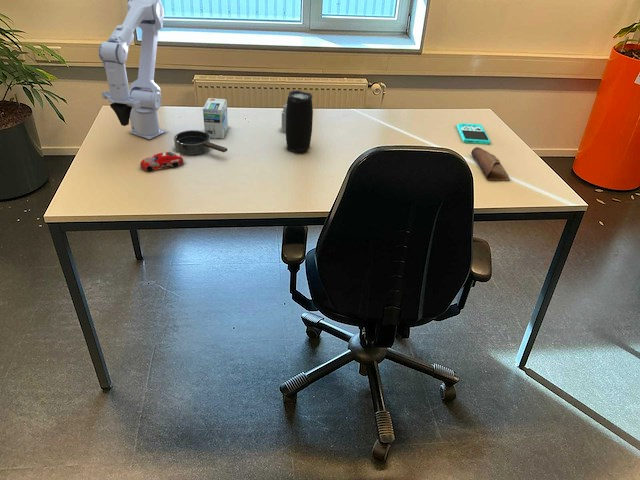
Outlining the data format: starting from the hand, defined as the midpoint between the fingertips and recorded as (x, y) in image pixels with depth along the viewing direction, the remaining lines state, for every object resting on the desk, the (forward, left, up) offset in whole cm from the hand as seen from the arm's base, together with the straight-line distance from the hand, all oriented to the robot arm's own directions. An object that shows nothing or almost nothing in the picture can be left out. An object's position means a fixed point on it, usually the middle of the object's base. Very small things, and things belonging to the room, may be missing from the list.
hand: (125, 124), depth 168 cm
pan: (+15, +14, -9) cm, 23 cm away
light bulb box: (+13, +29, -10) cm, 33 cm away
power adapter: (+33, +46, -10) cm, 57 cm away
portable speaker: (+44, +35, -10) cm, 57 cm away
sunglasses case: (+104, +62, -10) cm, 121 cm away
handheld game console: (+91, +86, -10) cm, 126 cm away
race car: (+16, -1, -10) cm, 18 cm away
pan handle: (+25, +14, -6) cm, 29 cm away
